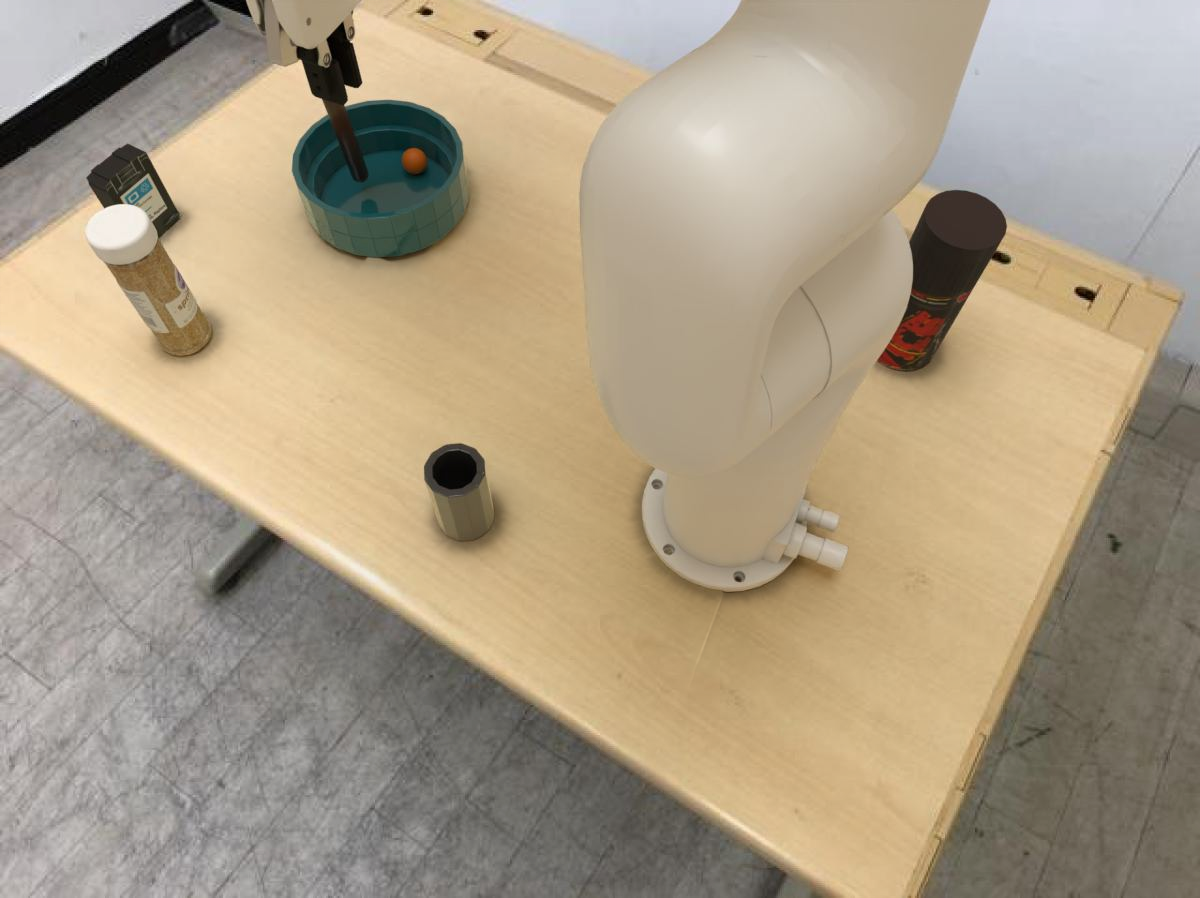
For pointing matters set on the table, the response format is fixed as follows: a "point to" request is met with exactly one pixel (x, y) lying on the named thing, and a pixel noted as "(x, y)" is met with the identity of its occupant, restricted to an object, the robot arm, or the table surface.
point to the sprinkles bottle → (148, 277)
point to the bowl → (383, 180)
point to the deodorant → (943, 272)
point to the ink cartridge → (133, 186)
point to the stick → (347, 140)
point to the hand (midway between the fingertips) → (337, 89)
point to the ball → (414, 161)
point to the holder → (459, 491)
